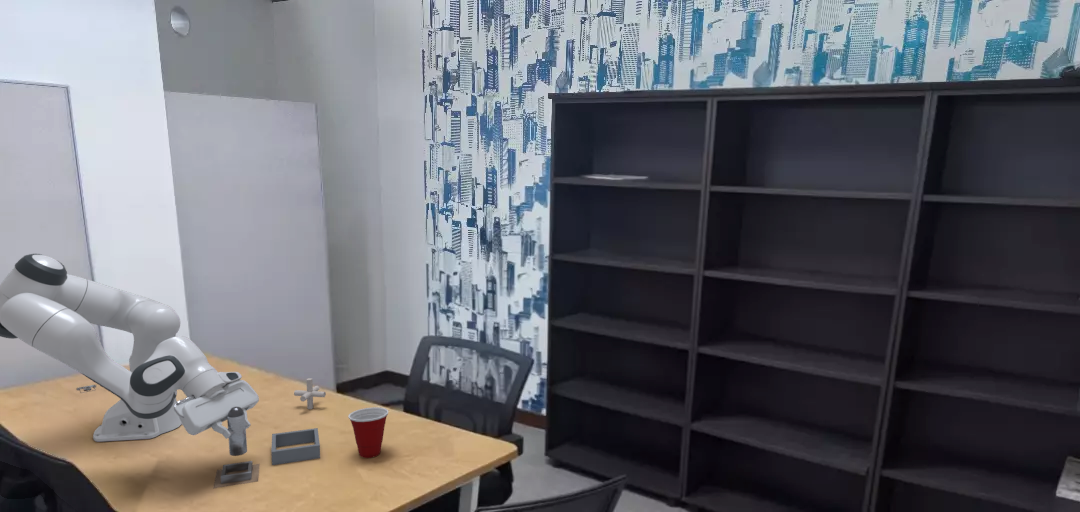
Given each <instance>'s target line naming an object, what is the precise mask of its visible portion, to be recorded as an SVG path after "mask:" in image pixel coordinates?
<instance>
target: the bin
mask: <svg viewBox="0 0 1080 512" xmlns="http://www.w3.org/2000/svg"><path fill="white" fill-rule="evenodd" d="M309 443H314V444H309ZM301 444H302V446H296V445H301ZM304 444H306V445H304ZM307 444H308V445H307ZM287 446H289V447H287ZM290 446H292V447H290ZM293 446H295V447H293ZM282 447H287V448H282ZM277 448H279V449H277ZM270 449H271V452H270V453H271V454H270V455H271V466H275V465H282V464H289V463H290V464H291V463H296V462H303V461H309V460H310V461H311V460H315V459H316V460H317V459H318V460H319V459H321V444H320V437H319V429H318V427H317V428H316V427H315V428H308V429H307V428H306V429H301V430H293V431H292V430H291V431H286V432H285V431H283V432H277V433H272V435H271V447H270Z"/></svg>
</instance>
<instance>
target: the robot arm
mask: <svg viewBox="0 0 1080 512" xmlns="http://www.w3.org/2000/svg"><path fill="white" fill-rule="evenodd" d="M94 325H96V326H101V327H104V328H105V327H106V328H110V329H115V330H119V331H123V332H124V331H125V332H127V333H130V334H132V335H133V346H132V350H131V355H130V356H129V359H128V364H129V365H128V366H129V369H127V368H126V367H125V366H123V365H121V364H120V363H118V362H117V361H115V360H114V359H113V358H111V357H110V356H109V355H108V354H107V351H105V349H104V347H103V345H102V342H101V341H100V339H99V336H98V334H97V331H96V329H95V327H94ZM180 328H181V319H180V316H179V315H178V313H177V312H176V311H175V310H174V309H173V308H172V307H171V306H169V305H168V304H165V303H162V302H160V301H156V300H154V299H153V298H150V297H146V296H142V295H139V294H137V293H132V292H129V291H125V290H123V289H120V288H116V287H113V286H110V285H107V284H103V283H100V282H97V281H94V280H91V279H88V278H85V277H82V276H79V275H74V274H70V273H68V271H67V268H66V266H65V265H64V264H63V263H62V262H60V261H59V260H57V259H55V258H54V257H51V256H50V255H49V256H48V255H44V254H41V253H29V254H26V255H23V256H22V257H21V258H20V259H18V261H17V262H16V263H14V267H13V269H11V270H10V272H9V273H8V274H7V276H5V277H4V279H3V280H2V282H0V337H2V338H5V339H19V340H21V341H22V342H24V343H25V344H27V345H28V346H30V347H32V348H34V349H36V350H37V351H39V352H41V353H43V354H45V355H47V356H48V357H51V358H53V359H54V360H57V361H59V363H62V364H64V365H66V366H68V367H70V368H71V369H73V370H75V371H76V372H78V373H80V374H82V375H83V376H84V377H86V378H87V379H89V380H91V381H92V382H94V383H95V384H97V385H99V386H100V387H102V388H103V389H105V390H107V391H108V392H110V393H111V394H112V395H114V396H115V397H118V398H119V400H118V401H117V402H115V403H114V404H113V405H112V406H110V407H109V408H108V409H107V410H106V412H105V414H104V415H103V418H102V422H101V423H102V424H100V425H99V426H98V427H97V428H96V429H95V430H94V432H93V433H92V434H93V436H92V437H93V438H92V439H93V441H95V442H98V443H99V442H113V441H114V442H115V441H116V442H117V441H118V442H119V441H132V440H133V441H134V440H149V439H154V438H156V437H158V436H160V435H162V434H165V433H168V432H171V431H173V430H175V429H177V428H179V427H180V426H181V425H182V426H183V427H184V430H185V431H186V432H187V434H188V435H191V436H196V435H198V434H200V433H202V432H204V431H206V430H209V429H212V430H213V431H214V432H216V433H218V434H221V435H222V436H223V437H224V438H225V440H226V439H229V437H231V436H232V435H233V434H234V432H233V431H232V429H231V428H228V427H226V426H224V425H223V422H225V421H227V415H228V412H229V410H230V409H231V408H233V407H241V408H242V409H243V411H244V413H245V424H246V430H247V429H249V427H251V422H250V421H249V420H248V412H247V411H249V410H252V408H255V407H256V405H257V404H258V402H259V401H260V397H259V394H258V393H257V392H256V391H255V389H254V388H253V386H252V385H250V383H248V381H246V380H244V379H242V377H243V376H242V374H241V373H240V372H238V371H218V370H217V369H216V368H215V367H214V366H212V365H211V364H210V363H209V361H208V357H207V356H206V355H205V354H204V352H203V351H202V350H201V349H200V347H199V346H197V344H196V343H195V342H194V341H192V340H191V339H190V338H188V337H186V336H184V335H177V333H178V332H179V330H180ZM179 390H181V391H182V392H183V394H184V395H185V396H186V397H185V398H182V399H179V400H177V395H178V391H179Z"/></svg>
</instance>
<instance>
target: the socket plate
mask: <svg viewBox="0 0 1080 512" xmlns="http://www.w3.org/2000/svg"><path fill="white" fill-rule="evenodd" d="M260 465H261V464H260V463H253V460H249V461H243V462H241V461H240V462H235V463H228V464H223V465H222V469H221V468H220V469H217V470H216V474H215V477H214V478H215V479H214V481H213V482H214V483H213V487H212V488H213V489H219V488H225V487H231V486H238V485H245V484H251V483H252V484H253V483H257V482H259V476H260Z"/></svg>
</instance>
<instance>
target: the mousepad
mask: <svg viewBox="0 0 1080 512" xmlns="http://www.w3.org/2000/svg"><path fill="white" fill-rule="evenodd" d="M92 388H93V389H94V390H92ZM96 388H97V385H96V384H91V385H85V386H79V387H76V391H79V392H80V393H81V394H83V393H85V392H86V393H88V392H89V393H90V391H91V390H92V392H95V391H96ZM81 390H83V391H81Z"/></svg>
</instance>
